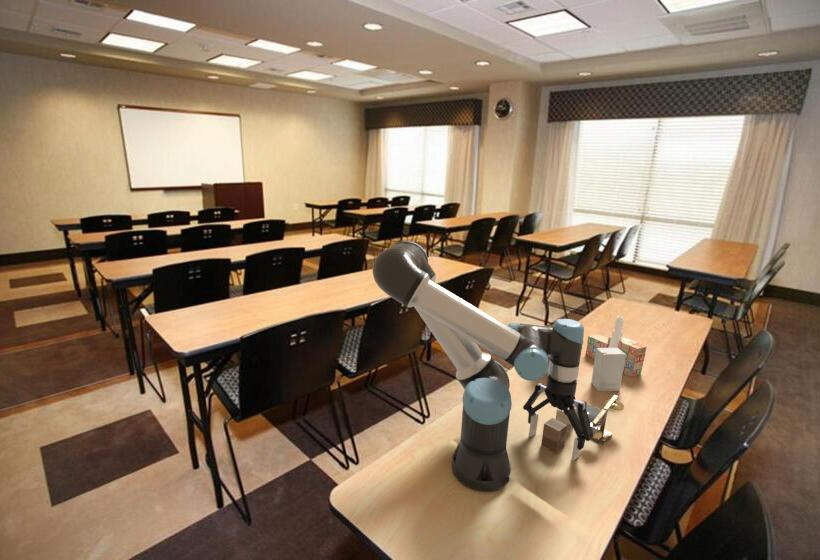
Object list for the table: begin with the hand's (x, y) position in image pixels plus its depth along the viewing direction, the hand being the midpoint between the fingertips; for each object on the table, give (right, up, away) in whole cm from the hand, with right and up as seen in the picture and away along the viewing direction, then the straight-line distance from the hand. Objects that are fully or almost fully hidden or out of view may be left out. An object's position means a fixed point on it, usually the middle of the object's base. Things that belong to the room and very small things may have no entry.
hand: (553, 445), depth 114 cm
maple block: (+6, +2, +8) cm, 10 cm away
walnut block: (0, 0, 0) cm, 0 cm away
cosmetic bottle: (+41, +11, +50) cm, 66 cm away
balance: (+16, 0, +5) cm, 16 cm away
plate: (+16, +3, +16) cm, 23 cm away
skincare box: (+31, +7, +34) cm, 46 cm away
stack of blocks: (+42, +12, +52) cm, 68 cm away
